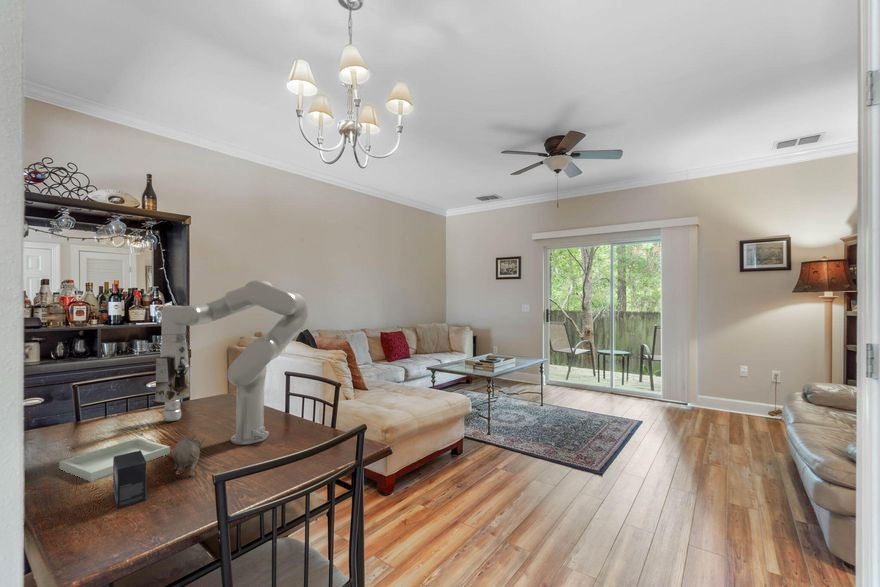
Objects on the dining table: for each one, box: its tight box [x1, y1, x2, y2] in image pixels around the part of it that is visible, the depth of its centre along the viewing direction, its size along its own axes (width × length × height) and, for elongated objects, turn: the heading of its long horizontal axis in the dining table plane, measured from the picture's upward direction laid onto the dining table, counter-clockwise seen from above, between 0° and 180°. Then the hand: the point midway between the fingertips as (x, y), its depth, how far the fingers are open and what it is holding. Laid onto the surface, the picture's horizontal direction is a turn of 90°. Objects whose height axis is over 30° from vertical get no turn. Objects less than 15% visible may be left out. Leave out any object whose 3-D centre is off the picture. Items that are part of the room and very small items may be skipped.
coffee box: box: [154, 354, 191, 403], centre depth 146 cm, size 9×6×16 cm
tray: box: [58, 437, 171, 483], centre depth 127 cm, size 18×22×3 cm
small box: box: [112, 450, 147, 509], centre depth 106 cm, size 11×6×10 cm, turn 45°
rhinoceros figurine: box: [171, 434, 205, 477], centre depth 123 cm, size 8×14×15 cm
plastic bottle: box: [162, 399, 182, 422], centre depth 168 cm, size 6×7×20 cm
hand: (173, 385), depth 146 cm, fingers closed on coffee box, 7 cm apart
